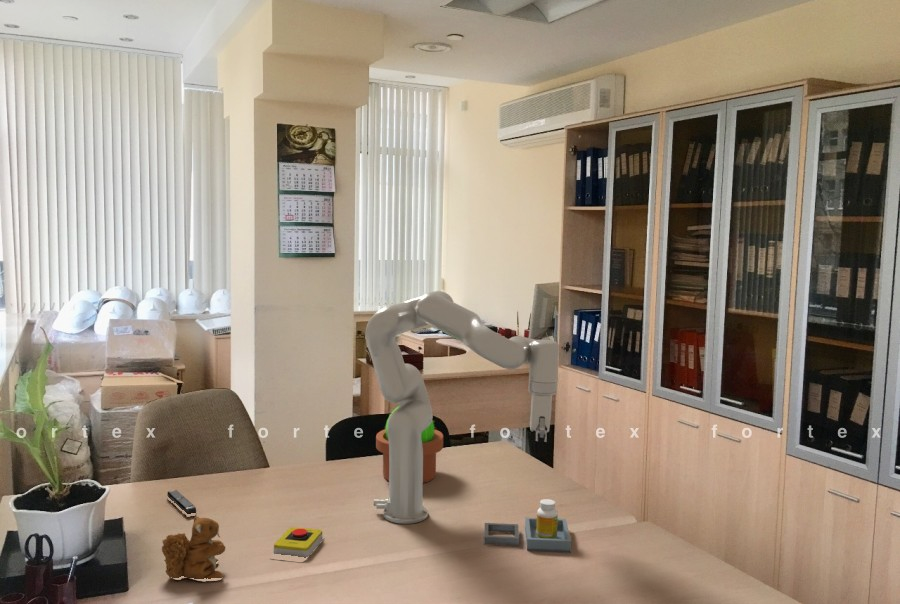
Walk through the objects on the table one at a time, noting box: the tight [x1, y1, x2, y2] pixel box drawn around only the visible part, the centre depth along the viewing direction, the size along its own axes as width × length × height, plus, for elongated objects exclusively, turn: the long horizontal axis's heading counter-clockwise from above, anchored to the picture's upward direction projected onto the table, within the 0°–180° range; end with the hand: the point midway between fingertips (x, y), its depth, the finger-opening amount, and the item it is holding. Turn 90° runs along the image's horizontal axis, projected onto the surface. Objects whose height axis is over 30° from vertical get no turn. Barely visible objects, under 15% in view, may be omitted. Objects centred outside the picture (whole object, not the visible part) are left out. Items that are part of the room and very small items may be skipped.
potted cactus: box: [375, 404, 444, 484], centre depth 234 cm, size 22×22×25 cm
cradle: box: [483, 522, 520, 547], centre depth 189 cm, size 9×9×2 cm
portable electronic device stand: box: [167, 489, 197, 514], centre depth 206 cm, size 18×3×3 cm, turn 39°
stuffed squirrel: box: [161, 516, 226, 579], centre depth 166 cm, size 10×14×13 cm
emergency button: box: [272, 526, 324, 558], centre depth 181 cm, size 9×4×15 cm
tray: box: [524, 517, 572, 553], centre depth 188 cm, size 11×14×3 cm
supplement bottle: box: [536, 498, 559, 539], centre depth 188 cm, size 5×5×10 cm
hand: (539, 450), depth 190 cm, fingers open, 9 cm apart
